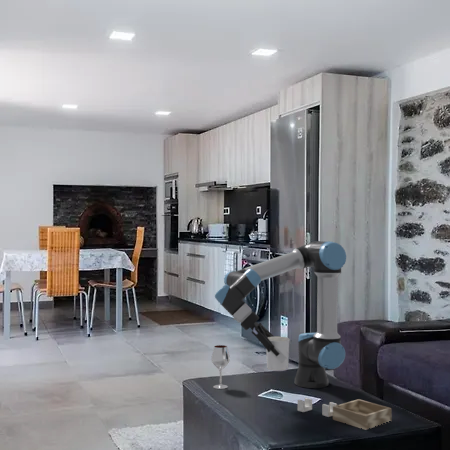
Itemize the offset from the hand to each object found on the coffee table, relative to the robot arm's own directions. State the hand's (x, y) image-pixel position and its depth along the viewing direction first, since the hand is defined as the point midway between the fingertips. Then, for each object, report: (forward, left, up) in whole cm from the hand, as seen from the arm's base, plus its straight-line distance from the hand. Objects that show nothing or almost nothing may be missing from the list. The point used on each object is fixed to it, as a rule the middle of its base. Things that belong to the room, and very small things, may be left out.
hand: (285, 358), depth 244 cm
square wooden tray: (-8, +32, -19) cm, 38 cm away
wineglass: (+3, -37, -19) cm, 42 cm away
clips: (-2, +15, -19) cm, 24 cm away
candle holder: (+2, -2, -5) cm, 6 cm away
